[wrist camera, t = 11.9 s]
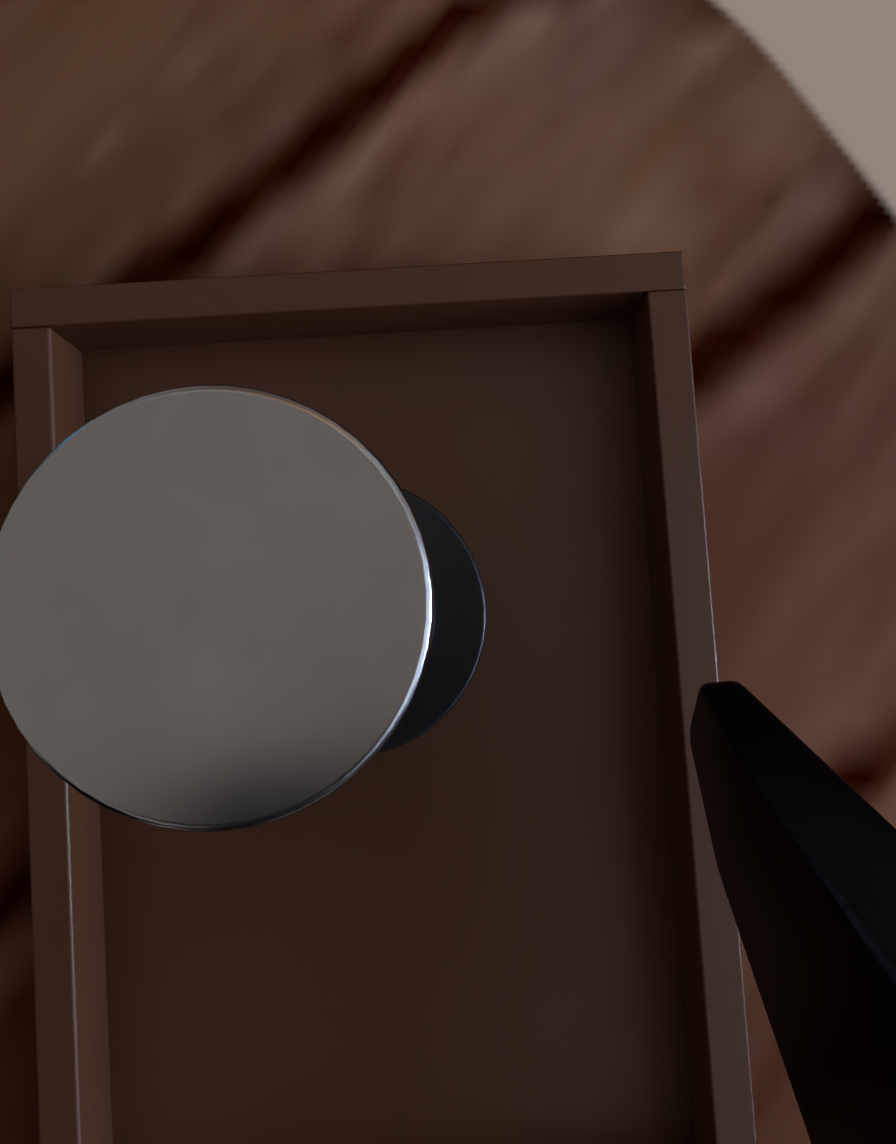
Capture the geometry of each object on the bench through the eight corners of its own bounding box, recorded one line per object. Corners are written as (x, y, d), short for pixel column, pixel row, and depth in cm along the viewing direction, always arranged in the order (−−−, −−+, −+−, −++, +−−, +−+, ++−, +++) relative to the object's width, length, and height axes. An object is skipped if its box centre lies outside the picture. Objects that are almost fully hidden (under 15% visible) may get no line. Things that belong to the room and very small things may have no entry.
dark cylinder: (479, 713, 18) (589, 942, 5) (273, 727, 18) (-145, 995, 5) (466, 510, 18) (537, 239, 5) (263, 523, 18) (-160, 277, 5)
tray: (730, 1188, 18) (767, 1259, 16) (87, 1237, 18) (43, 1315, 16) (657, 289, 19) (683, 250, 17) (53, 323, 19) (8, 288, 17)
